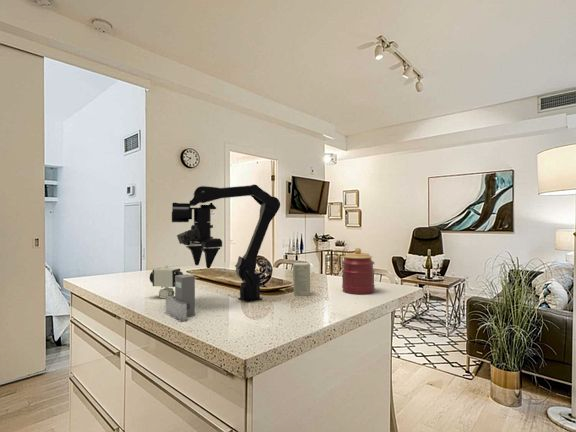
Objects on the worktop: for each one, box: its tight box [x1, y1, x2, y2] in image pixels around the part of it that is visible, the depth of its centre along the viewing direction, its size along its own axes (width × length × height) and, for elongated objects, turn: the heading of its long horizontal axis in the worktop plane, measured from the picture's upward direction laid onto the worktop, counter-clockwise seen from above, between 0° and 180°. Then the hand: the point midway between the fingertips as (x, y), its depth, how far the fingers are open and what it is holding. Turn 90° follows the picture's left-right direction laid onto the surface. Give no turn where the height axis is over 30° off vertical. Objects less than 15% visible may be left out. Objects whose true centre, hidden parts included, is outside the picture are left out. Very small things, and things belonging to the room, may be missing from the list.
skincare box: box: [292, 262, 311, 296], centre depth 130 cm, size 6×4×12 cm
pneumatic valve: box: [149, 265, 184, 300], centre depth 126 cm, size 6×12×12 cm, turn 78°
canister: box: [341, 247, 376, 295], centre depth 134 cm, size 13×13×18 cm
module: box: [174, 273, 196, 318], centre depth 102 cm, size 4×6×12 cm
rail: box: [165, 296, 190, 322], centre depth 101 cm, size 3×13×5 cm, turn 39°
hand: (202, 266), depth 116 cm, fingers open, 9 cm apart
